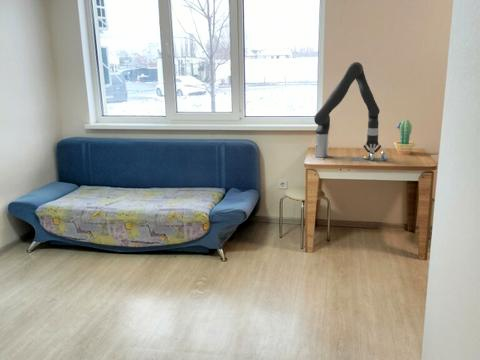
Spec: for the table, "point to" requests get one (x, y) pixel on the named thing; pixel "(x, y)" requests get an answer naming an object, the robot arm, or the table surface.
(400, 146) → the potted cactus
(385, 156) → the cylinder
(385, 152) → the spacer back right
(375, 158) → the mat
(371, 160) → the cylinder
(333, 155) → the table surface
